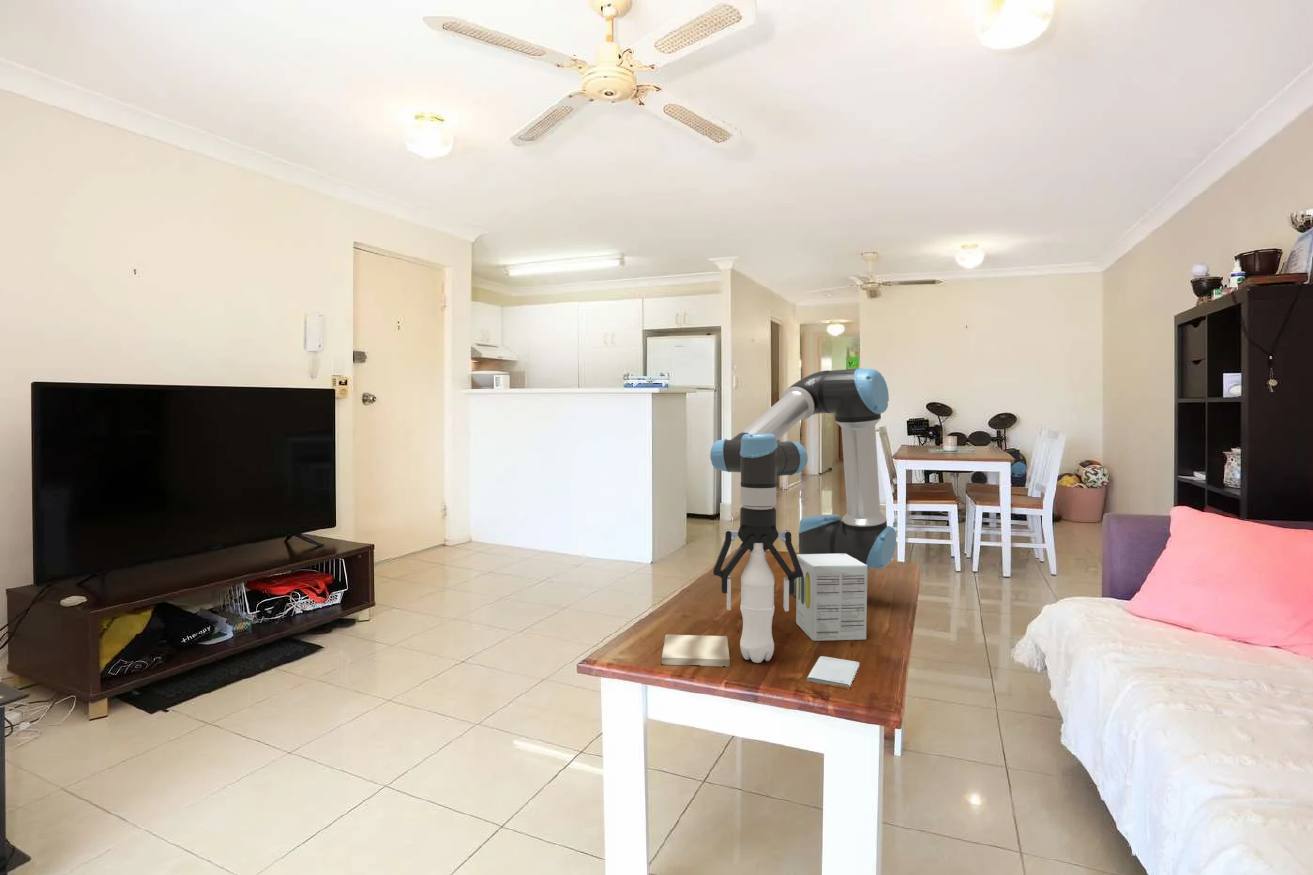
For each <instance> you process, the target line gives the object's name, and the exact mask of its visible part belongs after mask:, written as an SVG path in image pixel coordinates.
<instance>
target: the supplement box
mask: <svg viewBox="0 0 1313 875" xmlns="http://www.w3.org/2000/svg"><path fill="white" fill-rule="evenodd" d="M796 556H797V559H798V561H799V564H800V567H801V569H802V572H803V576H802V577H798V578H797V582H796V597H795V598H796V599H795V600H796V601H795V602H796V603H795V604H796V605H795V606H796V607H795V608H796V609H795V610H796V612H795V613H796V614H795V623H796V625H797V626H799V627H800V629H801V630H802V631H803V632H804V633H805V634H806V635H807V637H809V638H810V639H811V640H812V641H813V642H815V641H816V642H818V641H819V642H820V641H847V640H848V641H856V640H860V641H861V640H867V620H868V619H867V614H868V613H867V612H868V611H867V609H868V608H867V606H868V603H867V602H868V568H867V565H866V564H864V563H862V562H860V561H858V560H857V559H855V558H853V557H851V556H849V555H847V554H799V553H798V554H797V553H796Z"/></svg>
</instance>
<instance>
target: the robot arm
mask: <svg viewBox="0 0 1313 875" xmlns="http://www.w3.org/2000/svg"><path fill="white" fill-rule="evenodd" d="M889 396H890V395H889V389H888V385H887V381H886V380H885V378H884V376H883V375H882V373H881V372H880V371H879V370H877V369H875V368H862V367H861V368H858V367H857V368H848V369H846V368H845V369H835V370H834V369H833V370H828V369H827V370H826V369H825V370H820V371H817V372H813V373H811V374H809V375H807V376H806V377H803V378H800V380H798V381H796V382H794V383H793V384H791V386H789V387H788V388H787V389H786V390H785V391H784V392H783V393H782V396H781V398H780V399H779V400H778V401H777V402H775V403H774V404H773V405H772V406H770V407H769V408H768V409H767V410H765V412H763V413H762V414H761V415H760V416H758V417H757V418H756V419H755V420H754V421H752V422H751V423H750V424H749V425H747V426H746V427H745V428H744V429H743V430H741V431H740V432H739V433H738V434H737V435H735V436H733V438H731V439H727V438H725V439H718V440H717V441H714V443H713V444H712V446H711V448H710V454H709V456H710V461H711V465H712V466H713V468H714V469H716V470H718V471H720V472H727V473H740V488H739V489H740V494H739V495H740V501H739V502H740V505H741V507H740V509H739V512H740V513H739V514H740V515H739V529H738V530H731V529H728V528H727V529H726V530H725V531H724V533H725V534H724V541H723V543H722V546H721V549H720V552H719V554H718V556H717V559H716V562H715V564H714V566H713V569H712V571H713V572H712V573H713V575H714V576H717V577H720V578H721V579H720V580H721V593H722V594H726V610H727V611H731V610H732V608H731V607H732V577H731V575H730V574H731V572H732V571H733V570H734V569H735V567H736V566H737V564H738V563H739V562H740V561H741V559H742V558H743V556H744V555H745V554H746V553H747V552H748V551H752V550H753V549H754V548H753V547H754V543H763V550H764V551H766V552H767V551H768V550H769V552H770V554H771V555H772V556H773V557H774V559H775V560H776V562H777V563H778V564H779V567H780V568H781V570H783V572H784V574H786V576H787V577H785V576H784V577H783V609H784V612H789V610H790V607H789V606H790V595H791V596H794V597H795V598H796V582H797V578H798V577H802V576H803V572H802V569H801V567H800V564H799V561H798V559H797V553H796V550H795V548H794V546H793V544H792V532H791V531H790V530H787V529H785V530H784V531H783V530H782V531H780V530H779V531H778V530H777V509H776V508H775V506H777V477H780V476H781V477H782V476H793V475H795V474H799V473H800V472H802V471H803V470H804V469H805V468H806V467H807V464H808V458H809V457H808V452H807V450H806V448H805V446H803V444H801V443H799V442H797V441H793V440H792V441H791V440H784V441H779V440H780V439H781V438H782V437H783V436H784V435H785V434H787V433H788V432H789V431H791V429H792V428H793V427H795V425H797V424H798V423H799V422H800V421H803V420H807V419H809V418H810V417H811V416H813V415H817V414H818V415H819V414H834V421H835V423H836V424H837V425H838V426H840V427H841V437H842V438H841V440H842V453H843V454H842V455H843V457H842V458H843V469H844V482H845V483H844V484H845V485H844V486H845V501H846V514H844V515H843V517H842V518H841V515H840V514H818V515H817V514H816V515H810V516H805V517H802V518H801V519H800V521H799V524H798V525H799V526H798V527H799V528H798V533H797V534H798V554H847V555H849V556H851V557H853V558H855V559H857V560H858V561H860V562H862V563H864V564H866V565H867V569H877V570H881V569H882V570H883V569H885V568H886V567H887V566H888V565H889V564H890V562H891V561H892V559H893V556H894V553H895V549H896V545H897V531H896V530H895V528H894V527H892V526H890V525H888V518H887V516H886V515H885V514H883V513H882V512H881V503H880V502H881V501H880V485H879V484H880V483H879V470H878V469H879V468H878V449H877V434H876V433H877V432H876V425H877V424H878V423H879V422H880V421H881V419H882V414H883V413H885V412H886V411H887V409H888V406H889V401H890V400H889V399H890V398H889ZM737 537H738V538H739V539H740V541H741V542H742V543H741V544H740V545H739V547H738V549H737V550H736V552H735V553H734V554H733V556H732V557H731V559H730V560H729V561H728V563H726V565H725V567H724V569H722V568H723V565H724V562H725V560H726V557H727V555H728V552H729V550H730V547H731V544H732V542H733V541H735V539H736V538H737ZM778 538H780V540H781V541H782V542H783V543H784V545H785V548H786V550H787V553H788V555H789V558H790V560H791V563H792V566H793V569H794V570H793V571H792V570H791V568H790V567H789V566H788V564H787V563H786V561H785V560H784V558H783V557H782V555H781V553H779V552H778V550H777V548H776V547H775V545H774V543H775V542H776V540H777V539H778Z"/></svg>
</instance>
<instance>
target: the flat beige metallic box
mask: <svg viewBox="0 0 1313 875" xmlns="http://www.w3.org/2000/svg"><path fill="white" fill-rule="evenodd" d="M662 664H663V665H664V666H666V665H667V666H690V665H700V666H699V667H723V666H725V667H728V668H729V667H731V665H730V664H731V662H730V652H729V642H728V635H698V634H697V635H694V634H693V635H692V634H665V637H664V643H663V647H662V654H661V665H662ZM663 665H662V666H663Z"/></svg>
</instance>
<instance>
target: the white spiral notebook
mask: <svg viewBox="0 0 1313 875" xmlns="http://www.w3.org/2000/svg"><path fill="white" fill-rule="evenodd" d="M858 668H859V669H860V662H859V661H854V660H850V659H849V660H848V659H843V658H835V657H830V656H823V655H821V656H819V657H818V658H817V660H816V662H815V664H814V665H813V667H812V669H811V670H810V672H809V674H808V676H806V682H807V681H812V682H817V683H823V684H831V685H840V686H846V687H850V686H851V684H852V681H853V680H854V681H855V679H854V678H856V677H855V675H856V676H857V674H856V673H858V672H857V670H858V671H859V669H858ZM852 685H853V684H852ZM851 687H852V686H851Z"/></svg>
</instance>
